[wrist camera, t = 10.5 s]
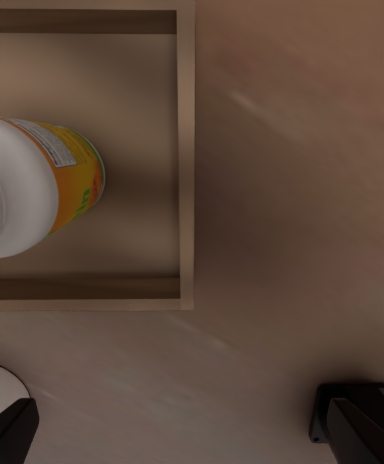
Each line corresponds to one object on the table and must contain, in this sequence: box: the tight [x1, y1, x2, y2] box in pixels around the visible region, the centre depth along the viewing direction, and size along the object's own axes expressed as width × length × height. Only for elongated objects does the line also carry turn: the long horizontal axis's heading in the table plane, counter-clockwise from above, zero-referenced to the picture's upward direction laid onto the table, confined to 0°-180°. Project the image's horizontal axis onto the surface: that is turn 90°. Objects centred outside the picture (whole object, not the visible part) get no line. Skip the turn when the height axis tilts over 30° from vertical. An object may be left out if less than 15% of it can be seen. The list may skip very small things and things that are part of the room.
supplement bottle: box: [0, 116, 105, 258], centre depth 12 cm, size 5×5×10 cm
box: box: [0, 0, 195, 312], centre depth 15 cm, size 16×16×4 cm
